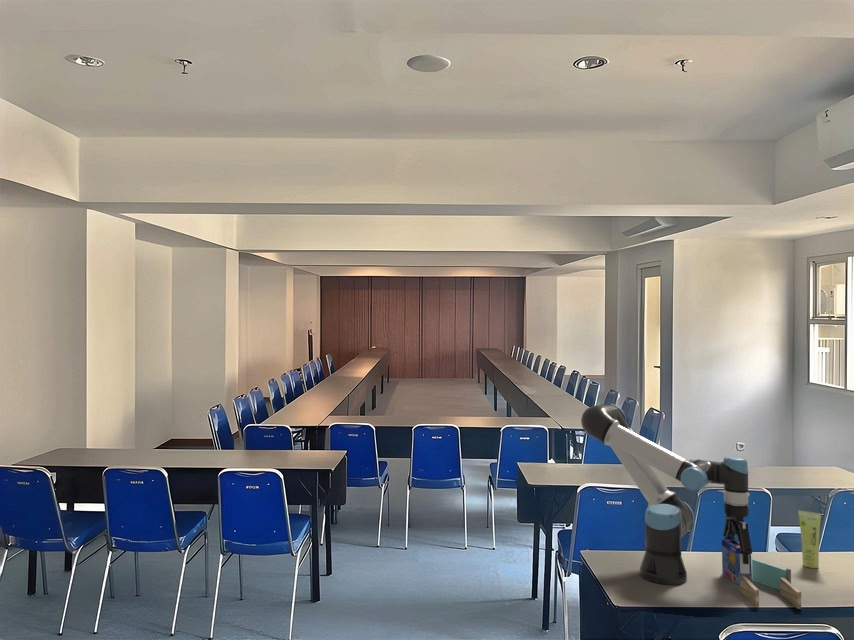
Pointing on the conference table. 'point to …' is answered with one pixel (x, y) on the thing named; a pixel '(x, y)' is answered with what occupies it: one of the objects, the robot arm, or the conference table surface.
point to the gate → (769, 574)
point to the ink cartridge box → (733, 560)
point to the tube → (810, 537)
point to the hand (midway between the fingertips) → (737, 566)
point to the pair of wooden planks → (785, 590)
